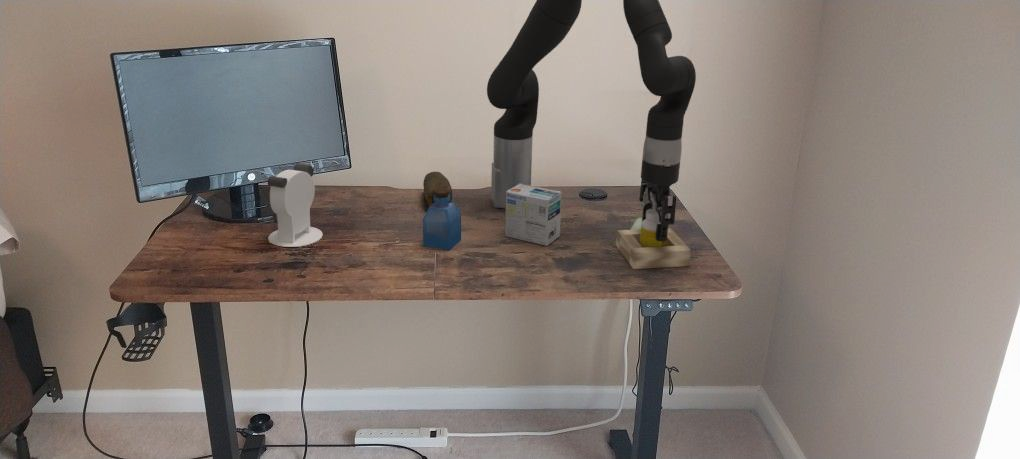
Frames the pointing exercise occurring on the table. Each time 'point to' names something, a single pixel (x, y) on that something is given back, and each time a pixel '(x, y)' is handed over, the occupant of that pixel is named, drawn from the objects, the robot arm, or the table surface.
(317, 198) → the table surface
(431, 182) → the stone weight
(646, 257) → the socket block
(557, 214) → the light bulb box
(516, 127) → the robot arm
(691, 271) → the table surface
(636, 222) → the lying dowel
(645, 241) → the supplement bottle
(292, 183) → the headphone stand
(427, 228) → the perfume bottle
